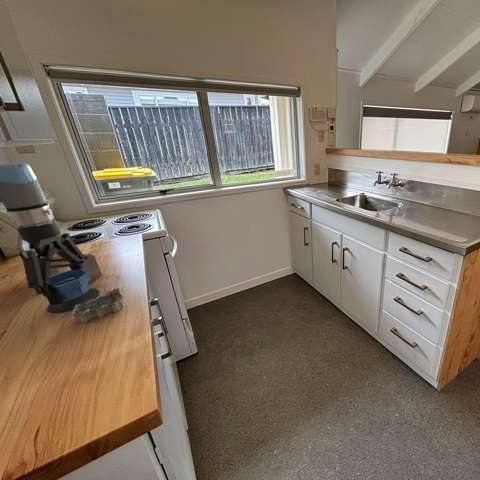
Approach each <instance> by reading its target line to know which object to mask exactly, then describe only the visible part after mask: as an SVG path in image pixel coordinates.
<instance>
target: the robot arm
mask: <svg viewBox="0 0 480 480" xmlns="http://www.w3.org/2000/svg"><path fill="white" fill-rule="evenodd" d="M0 204H3V206H4V209H5V210H6V212H7V214H8V216H9V218H10V220H11V222H12V224H13V225H14V226H15V227H17V229H16V230H17V232H18V234H19V236H20V238H21V240H23V241H24V242H26V243H27V244H28V249H26V250H21V251H19V252H18V255H19V257H20V258H21V260H22V263H23V267H24V272H25V277H26V281H27V286H28V288H29V289H34V288H38V287H39V288H40V290H41V292H42V296H43V297H44V298H46V299H47V301H48V303H49V304H50V305H57V304H62V303H63V300H62V299H61V297H60V295H59V293H58V291H57V289H56V287H55V285H54V283H50V261H51V260H52V256H53V255H54V254H55V253H56V254H58V255H59V256H61V257H62V258H63V259H65V260H66V261H68V262H69V263H70V264H73V265H71V266H69V267H70V269H71V270H78V269H83V266H82V264H81V263H84V262H85V261H84V259H85V256H84V255H83V254H84V253H83V252H82V251H81V250H80V248H79V247H78V245H77V244H76V243H75V242H74V241H73V239H72V237H71V234H70V233H69V232H63V233H62V230H61V228H60V226H59V224H58V221H56V220H54V219H55V215H54V214H53V211H52V210H51V207H50V206H49V203H48V201H47V198H46V196H45V194H44V191H43V190H42V188H41V185H40V183H39V180H38V177H37V176H36V174H35V173H34V171H33V169H32V168H31V166H30V165H29V164H28V163H25V162H7V163H0ZM77 255H78V256H77ZM40 256H41V257H44V258H40ZM77 278H79V277H77ZM42 280H43V281H44V282H43V281H42ZM88 282H89V281H88Z"/></svg>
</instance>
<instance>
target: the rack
mask: <svg viewBox="0 0 480 480" xmlns="http://www.w3.org/2000/svg"><path fill="white" fill-rule="evenodd" d="M83 255H84V256H85V259H83V260H84V261H85V262H84V263H81V264H82V266H83V269H84V270H86V271H87V272H88V274H89V276H90V278H91V280H90V281H89V282H88V284H89V286H91V285H92V284H93V283H94V282H95V281H97V280H98V279H99V278H101V277H102V276H103V273H102V271H101V269H100V266H99V264H98V262H97V259H96V256H95V255H94V254H91V253H83ZM77 256H78V255H77ZM61 261H66V260H65V259H63V258H62V257H52V260H51V261H50V277H51V276H53V275H56V274H59V271H58V269H57V268H61V267H69V266H71V265H73V264H70V263H69V262H61ZM54 262H59V263H54ZM42 281H43V280H42ZM54 285H55V284H54ZM33 289H34V291H35V292H36V294H37V295H41V294H42V292H41V290H40V288H39V287H38V288H33ZM42 295H43V294H42Z"/></svg>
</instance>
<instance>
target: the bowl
mask: <svg viewBox="0 0 480 480" xmlns="http://www.w3.org/2000/svg"><path fill="white" fill-rule="evenodd" d="M77 277H79V278H77ZM90 280H91V278H90V276H89V274H88V272H87V271H86V270H84V269H78V270H69V271H65V272H62V273H59V274H56V275H53V276H51V277H50V283H54V284H55V287H56V289H57V291H58V293H59V295H60V297H61V299H62V300H63V302H64V301H68V300H72V299H75V298H77V297H79V296H81V295H83V294H85V293H86V292H87V291H88V290H89V288H91V285H89V284H88V281H90ZM43 282H44V281H43Z"/></svg>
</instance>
